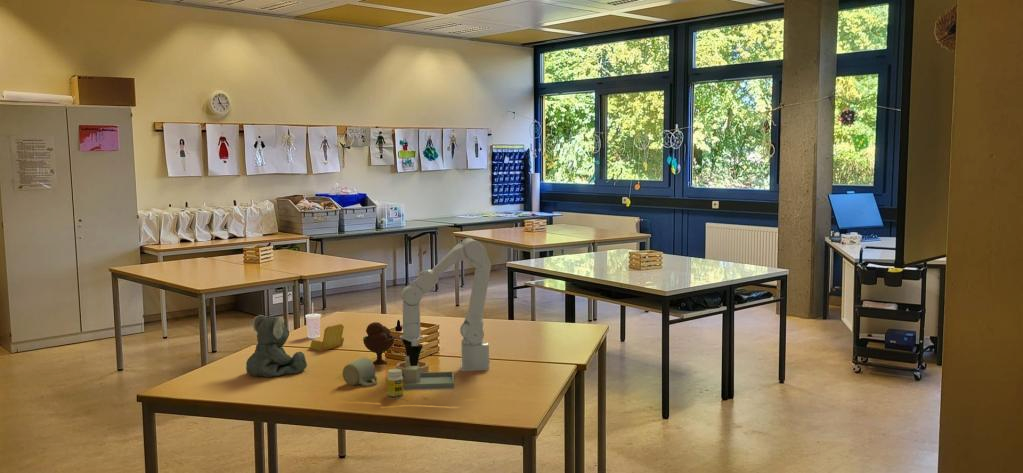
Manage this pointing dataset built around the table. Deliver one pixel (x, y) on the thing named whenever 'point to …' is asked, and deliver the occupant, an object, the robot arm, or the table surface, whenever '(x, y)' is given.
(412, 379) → the beige square block
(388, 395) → the supplement bottle
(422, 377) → the parts tray
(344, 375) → the ceramic mug
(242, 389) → the table surface
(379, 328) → the ice cream bowl
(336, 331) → the yellow bent piece
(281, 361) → the koala plush
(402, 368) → the bowl
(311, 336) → the beverage cup
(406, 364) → the sage green cube
